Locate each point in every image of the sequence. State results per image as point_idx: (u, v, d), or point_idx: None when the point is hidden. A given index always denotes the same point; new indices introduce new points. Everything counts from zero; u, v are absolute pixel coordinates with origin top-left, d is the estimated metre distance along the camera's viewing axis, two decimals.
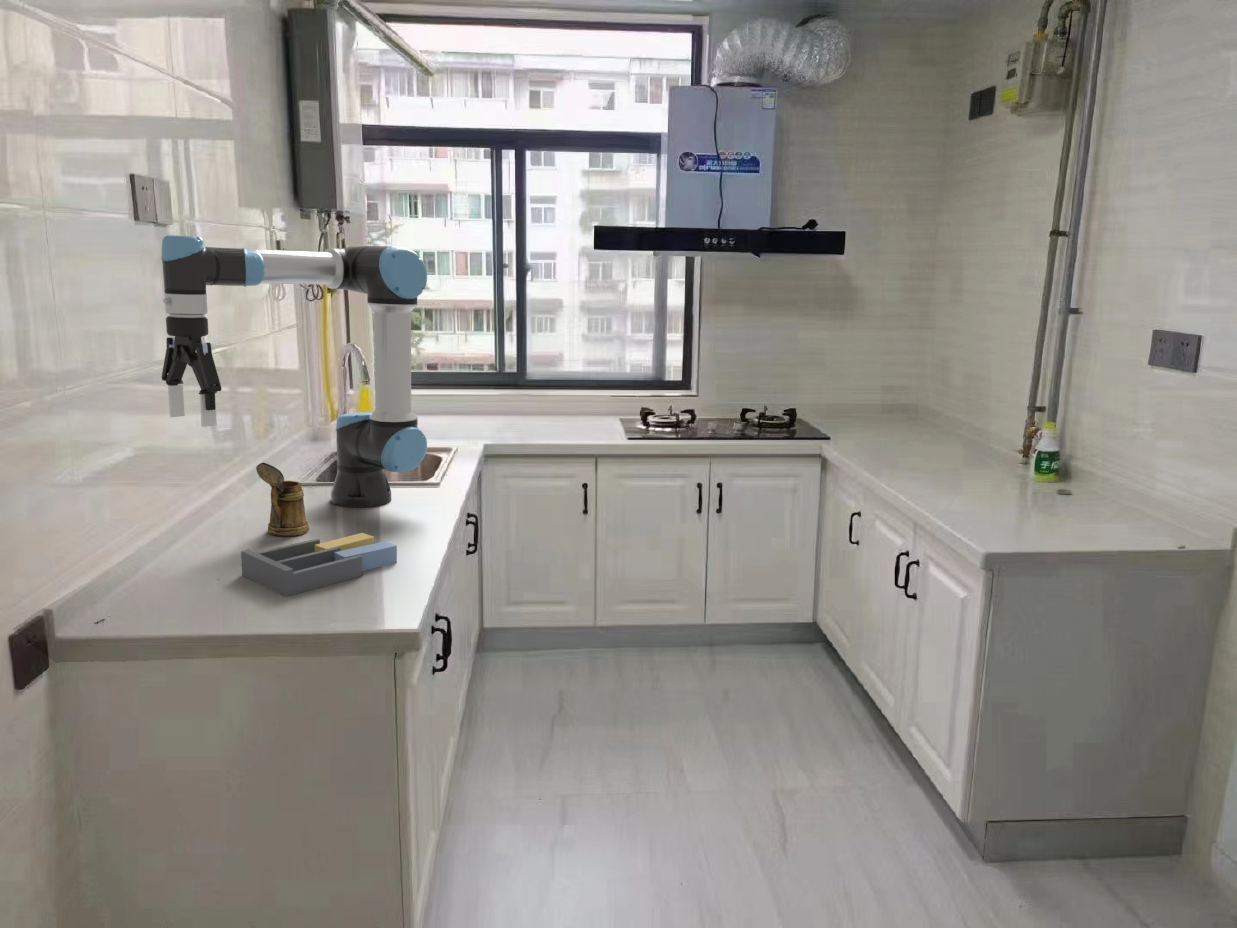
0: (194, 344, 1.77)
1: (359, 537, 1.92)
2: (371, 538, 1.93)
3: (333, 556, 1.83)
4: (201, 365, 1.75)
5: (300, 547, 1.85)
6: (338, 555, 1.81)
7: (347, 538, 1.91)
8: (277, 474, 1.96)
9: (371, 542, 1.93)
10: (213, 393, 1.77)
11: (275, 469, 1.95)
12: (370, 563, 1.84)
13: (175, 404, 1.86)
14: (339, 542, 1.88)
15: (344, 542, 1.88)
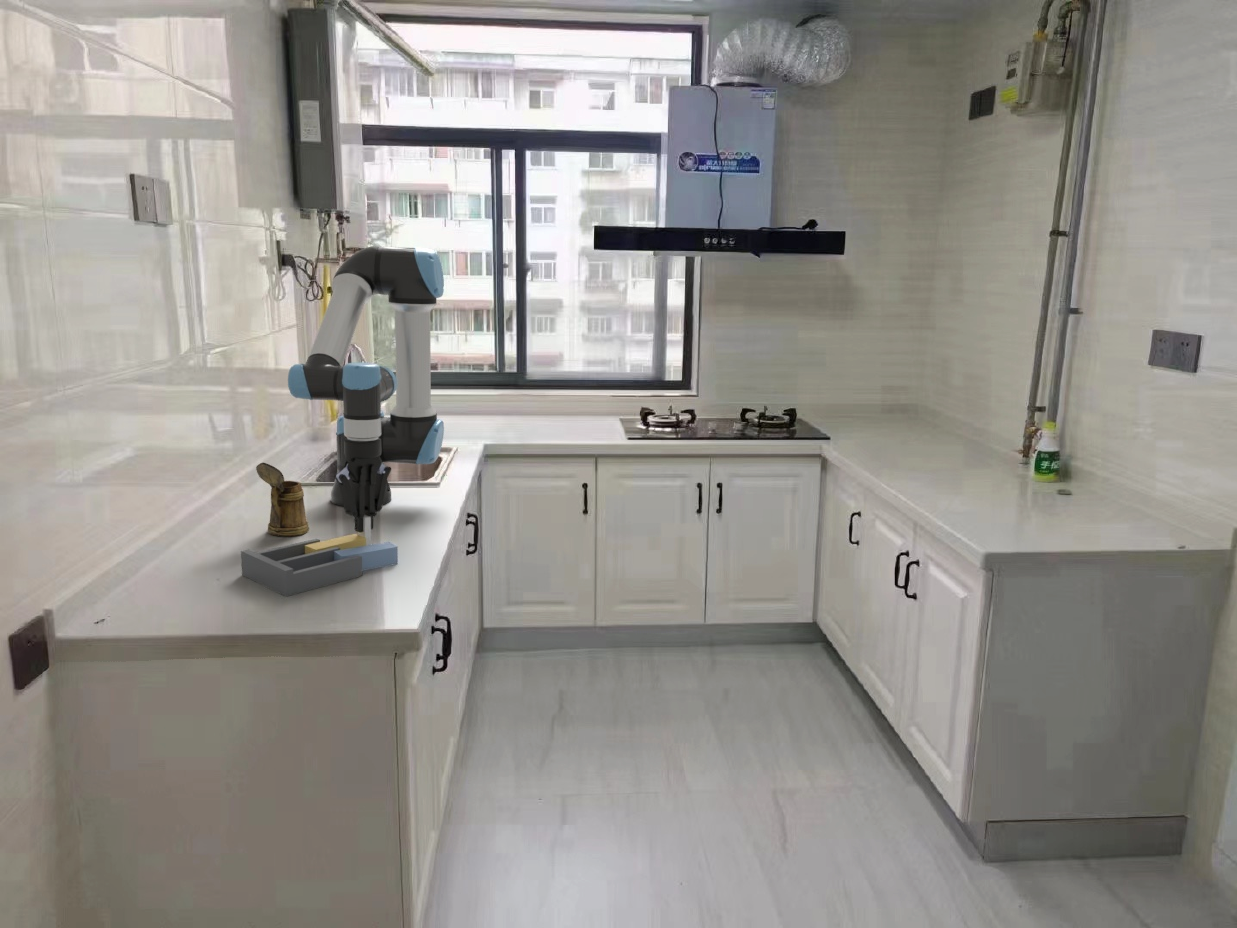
0: (344, 467, 1.87)
1: (350, 538, 1.91)
2: (363, 539, 1.91)
3: (333, 556, 1.83)
4: None
5: (300, 547, 1.85)
6: (337, 554, 1.82)
7: (339, 539, 1.90)
8: (277, 474, 1.96)
9: (363, 543, 1.91)
10: (356, 517, 1.90)
11: (275, 469, 1.95)
12: (369, 563, 1.84)
13: None
14: (330, 542, 1.87)
15: (335, 543, 1.87)
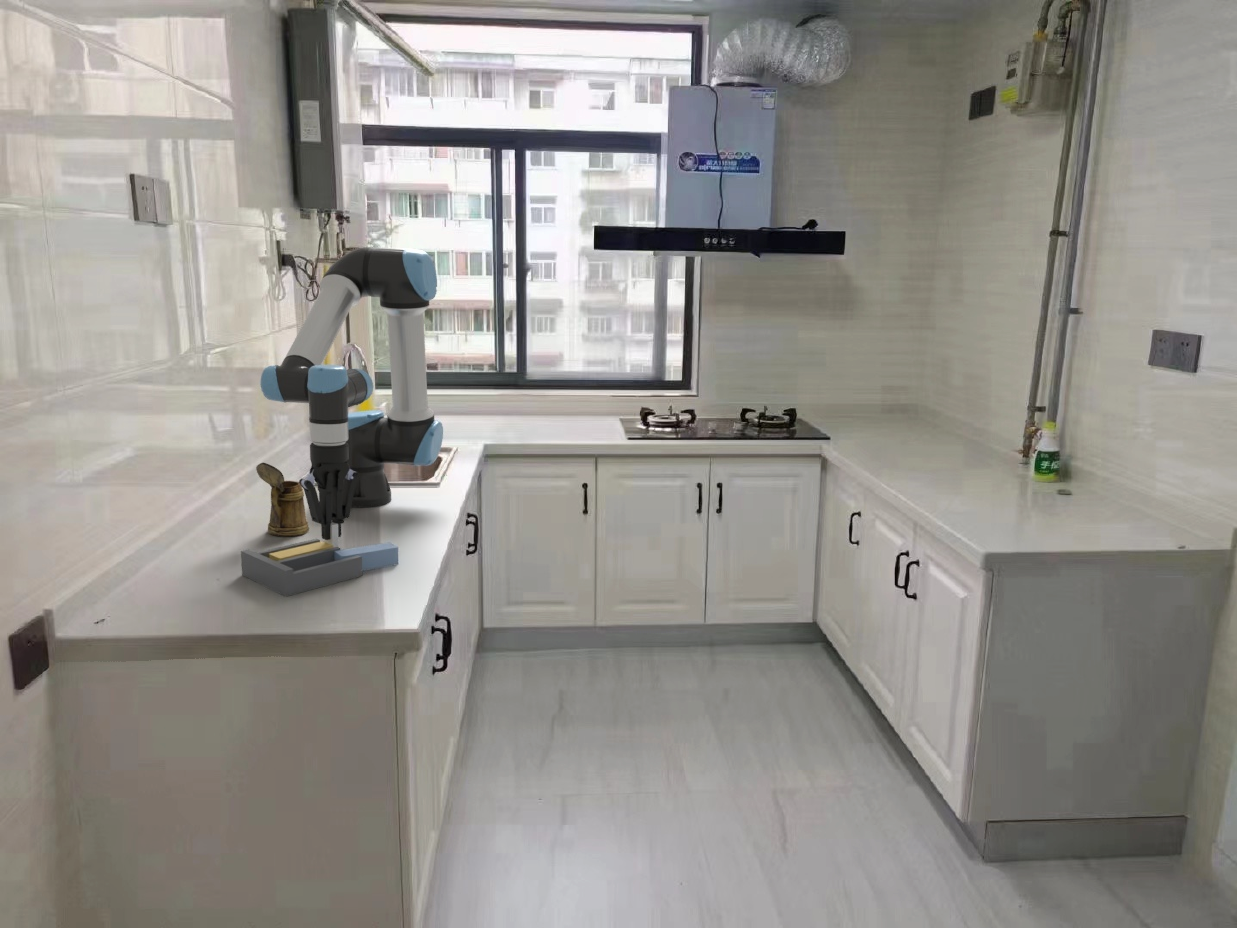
0: None
1: (317, 546, 1.85)
2: (330, 547, 1.85)
3: (333, 556, 1.83)
4: None
5: None
6: (337, 554, 1.82)
7: (305, 547, 1.84)
8: (277, 474, 1.96)
9: None
10: (323, 524, 1.84)
11: (275, 469, 1.95)
12: (370, 564, 1.84)
13: None
14: (295, 551, 1.81)
15: (301, 551, 1.81)
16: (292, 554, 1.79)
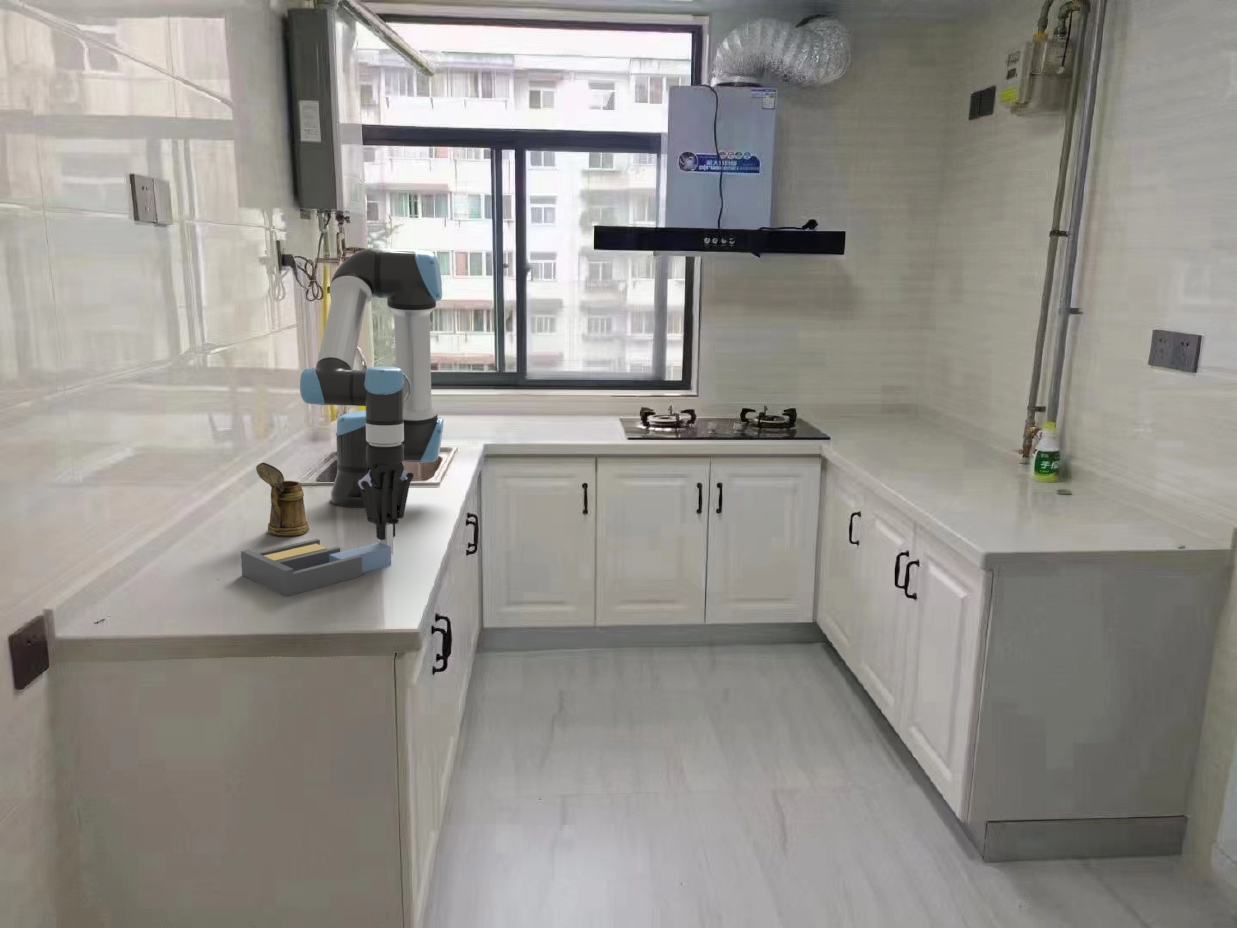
0: (366, 474, 1.83)
1: (311, 548, 1.83)
2: (324, 549, 1.84)
3: None
4: None
5: None
6: (333, 557, 1.79)
7: (299, 549, 1.83)
8: (277, 474, 1.96)
9: None
10: (378, 524, 1.86)
11: (275, 469, 1.95)
12: (366, 565, 1.82)
13: None
14: (289, 553, 1.80)
15: (294, 553, 1.80)
16: (285, 556, 1.78)
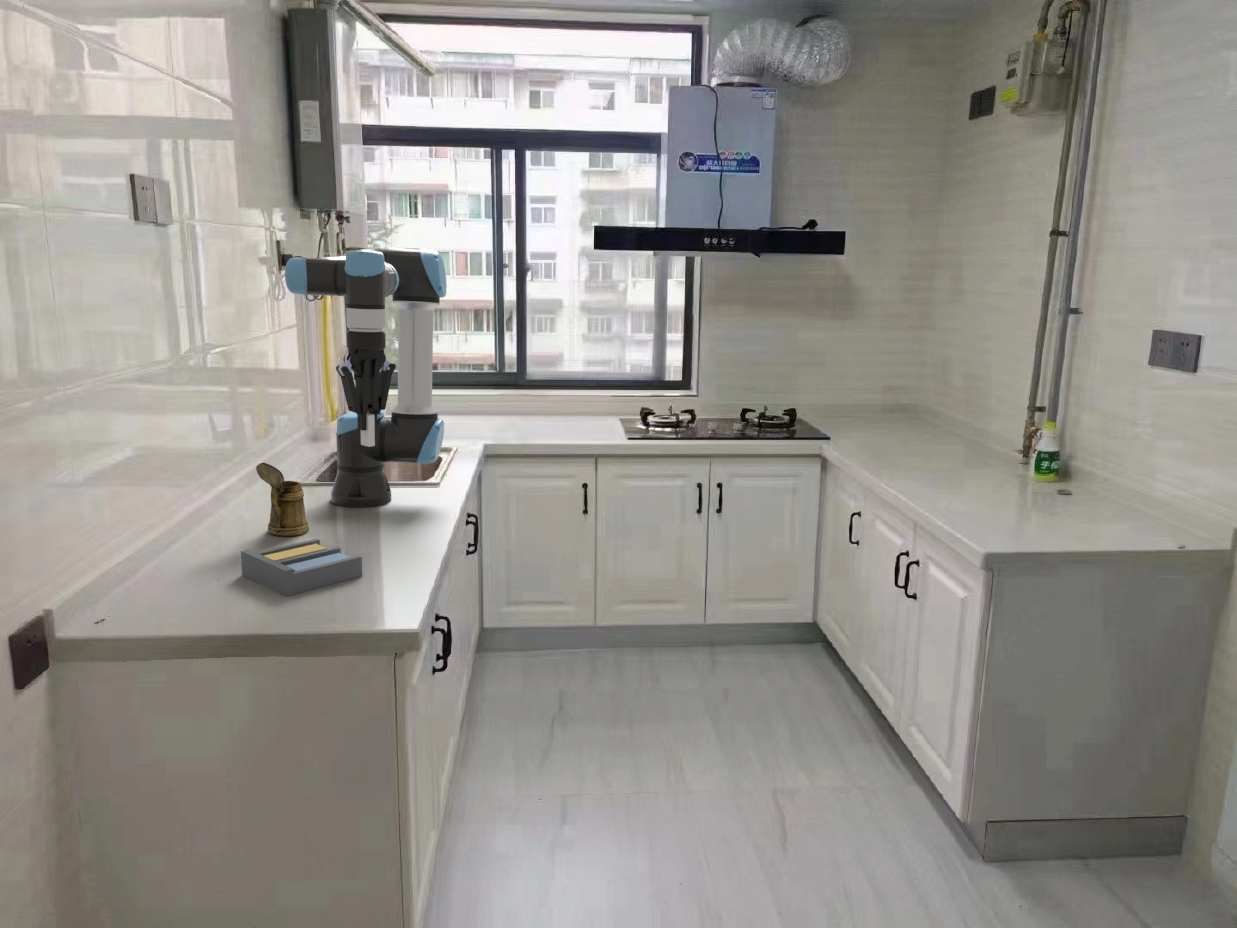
0: None
1: (310, 548, 1.83)
2: (323, 549, 1.84)
3: None
4: None
5: None
6: None
7: (298, 549, 1.83)
8: (277, 474, 1.96)
9: None
10: (359, 414, 1.82)
11: (275, 469, 1.95)
12: None
13: None
14: (288, 553, 1.80)
15: (294, 553, 1.80)
16: (285, 556, 1.78)
